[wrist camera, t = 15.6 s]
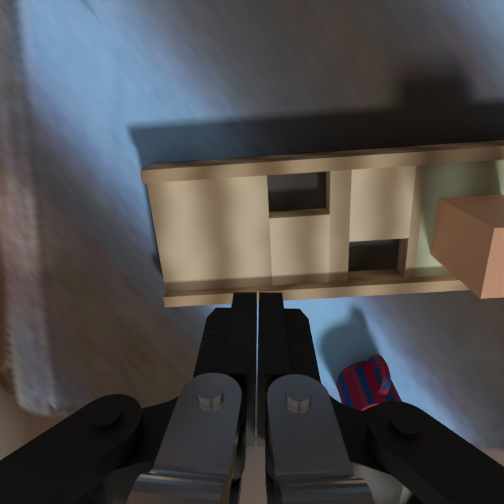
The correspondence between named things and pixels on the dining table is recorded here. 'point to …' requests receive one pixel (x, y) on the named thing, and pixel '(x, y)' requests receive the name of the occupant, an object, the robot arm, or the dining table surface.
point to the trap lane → (312, 221)
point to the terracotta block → (472, 241)
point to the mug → (366, 384)
